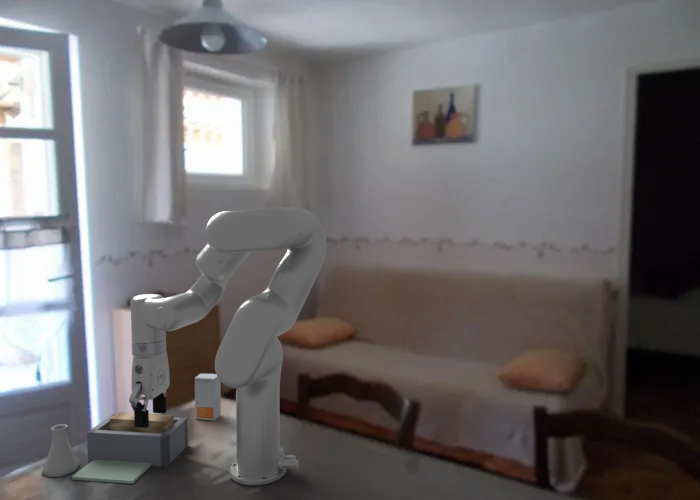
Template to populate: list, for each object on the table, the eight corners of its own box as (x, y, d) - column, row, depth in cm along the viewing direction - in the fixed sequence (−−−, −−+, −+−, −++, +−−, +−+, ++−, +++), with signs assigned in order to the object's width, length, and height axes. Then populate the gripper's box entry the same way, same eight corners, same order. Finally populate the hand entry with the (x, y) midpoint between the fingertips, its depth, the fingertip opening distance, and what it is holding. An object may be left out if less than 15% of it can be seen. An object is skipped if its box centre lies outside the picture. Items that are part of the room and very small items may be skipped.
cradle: (187, 445, 131) (187, 417, 131) (167, 466, 120) (166, 436, 120) (114, 440, 134) (113, 413, 133) (87, 461, 123) (86, 432, 122)
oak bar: (174, 435, 128) (173, 415, 127) (166, 442, 124) (165, 421, 123) (119, 432, 129) (118, 412, 129) (110, 439, 125) (109, 418, 125)
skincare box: (194, 419, 147) (193, 377, 146) (201, 413, 151) (200, 372, 150) (215, 421, 146) (214, 378, 145) (221, 415, 150) (220, 374, 149)
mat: (151, 465, 121) (151, 463, 121) (132, 483, 113) (132, 481, 113) (94, 461, 123) (93, 459, 123) (71, 479, 115) (71, 476, 115)
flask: (63, 480, 114) (61, 435, 114) (34, 476, 116) (32, 432, 115) (86, 464, 122) (84, 421, 121) (59, 461, 123) (57, 419, 122)
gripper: (145, 358, 116) (147, 436, 117) (180, 338, 133) (182, 407, 134) (113, 356, 116) (115, 434, 118) (152, 337, 134) (153, 405, 135)
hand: (150, 419), depth 126 cm, fingers open, 7 cm apart
